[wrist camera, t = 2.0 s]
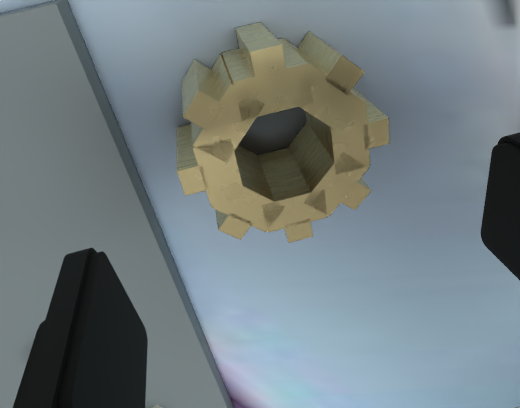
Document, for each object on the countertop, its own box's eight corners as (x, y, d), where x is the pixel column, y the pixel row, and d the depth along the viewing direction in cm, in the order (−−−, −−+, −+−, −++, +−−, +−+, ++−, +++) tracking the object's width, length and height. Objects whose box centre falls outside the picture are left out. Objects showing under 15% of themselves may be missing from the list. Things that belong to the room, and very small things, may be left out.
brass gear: (343, 1, 16) (385, 18, 13) (356, 170, 20) (391, 216, 17) (151, 48, 16) (144, 78, 13) (203, 209, 20) (208, 263, 17)
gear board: (66, -3, 15) (7, 30, 10) (246, 439, 31) (260, 537, 26) (-344, 94, 14) (-634, 183, 9) (59, 490, 31) (35, 600, 26)
